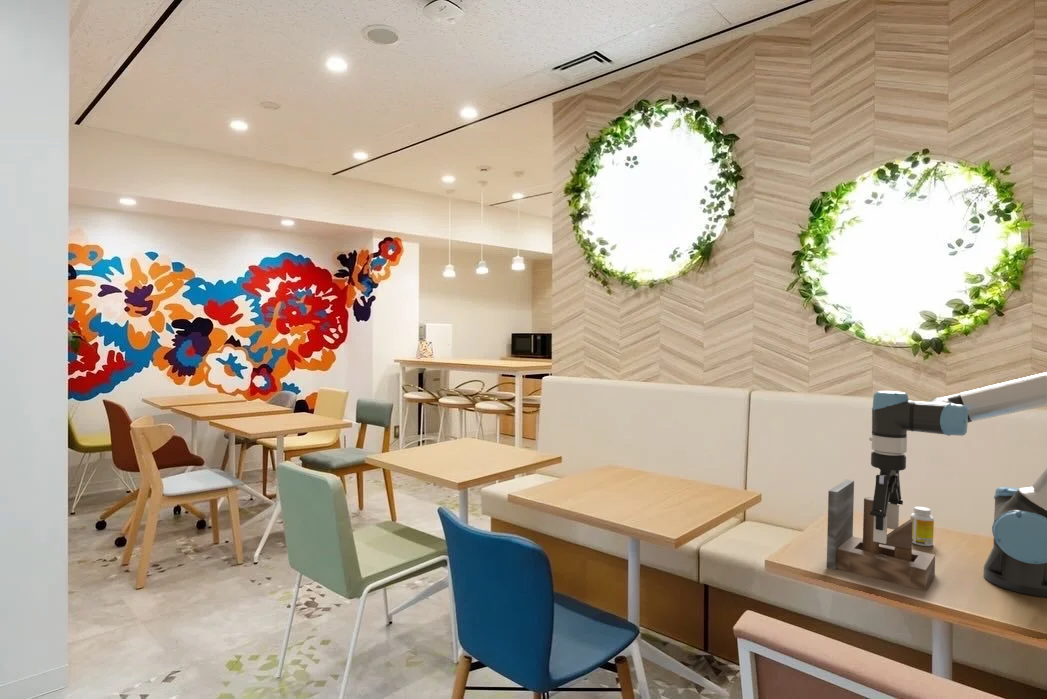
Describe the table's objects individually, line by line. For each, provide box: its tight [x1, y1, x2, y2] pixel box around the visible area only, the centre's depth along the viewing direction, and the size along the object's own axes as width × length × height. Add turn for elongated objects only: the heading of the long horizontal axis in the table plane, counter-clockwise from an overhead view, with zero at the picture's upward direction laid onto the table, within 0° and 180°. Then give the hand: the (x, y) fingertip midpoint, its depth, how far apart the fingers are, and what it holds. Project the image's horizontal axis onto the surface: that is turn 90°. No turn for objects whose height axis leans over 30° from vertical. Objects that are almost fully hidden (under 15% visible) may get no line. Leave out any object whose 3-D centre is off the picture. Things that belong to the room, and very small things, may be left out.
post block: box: [826, 479, 936, 592], centre depth 149 cm, size 21×16×20 cm
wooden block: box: [862, 496, 913, 561], centre depth 148 cm, size 4×11×18 cm, turn 56°
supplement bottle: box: [909, 506, 935, 547], centre depth 168 cm, size 6×6×10 cm
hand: (886, 535), depth 148 cm, fingers open, 13 cm apart
